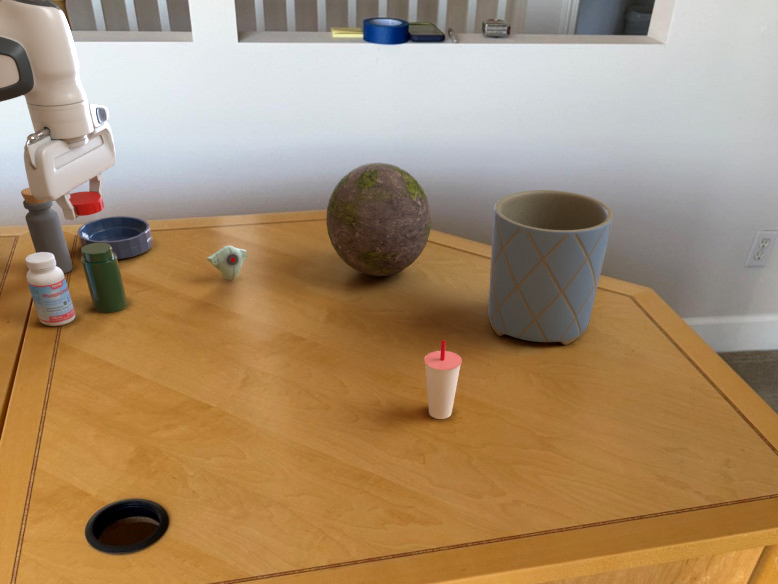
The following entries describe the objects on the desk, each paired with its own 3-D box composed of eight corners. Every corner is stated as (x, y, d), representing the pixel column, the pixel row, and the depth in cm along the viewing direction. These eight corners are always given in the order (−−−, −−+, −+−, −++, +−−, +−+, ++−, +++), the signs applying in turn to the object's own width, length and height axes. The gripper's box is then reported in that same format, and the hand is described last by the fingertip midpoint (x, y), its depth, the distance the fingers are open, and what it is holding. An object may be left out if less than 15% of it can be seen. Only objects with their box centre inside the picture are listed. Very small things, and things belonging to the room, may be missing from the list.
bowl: (67, 254, 158) (62, 234, 155) (113, 230, 168) (109, 212, 165) (123, 266, 154) (118, 247, 151) (167, 242, 163) (163, 222, 161)
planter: (474, 341, 133) (484, 223, 119) (494, 294, 146) (505, 184, 133) (586, 357, 129) (609, 237, 116) (595, 308, 143) (617, 196, 129)
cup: (431, 399, 119) (435, 327, 111) (463, 408, 117) (469, 336, 109) (416, 416, 115) (418, 343, 107) (448, 426, 113) (453, 353, 105)
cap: (109, 202, 132) (107, 191, 130) (96, 216, 127) (93, 205, 126) (73, 201, 132) (70, 190, 131) (58, 215, 127) (55, 204, 126)
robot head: (247, 272, 153) (243, 238, 148) (255, 279, 150) (251, 245, 146) (208, 280, 150) (203, 246, 145) (216, 288, 147) (211, 253, 142)
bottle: (79, 267, 153) (57, 189, 143) (55, 278, 150) (31, 198, 139) (59, 260, 156) (36, 183, 145) (35, 271, 152) (10, 191, 142)
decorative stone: (395, 244, 164) (396, 142, 150) (449, 279, 151) (455, 171, 138) (311, 264, 156) (304, 158, 142) (360, 302, 143) (357, 190, 130)
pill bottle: (56, 330, 134) (36, 267, 126) (32, 321, 136) (12, 259, 129) (83, 317, 138) (66, 255, 130) (60, 308, 140) (42, 247, 132)
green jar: (86, 309, 140) (70, 251, 133) (107, 295, 144) (93, 239, 137) (114, 315, 138) (99, 257, 131) (134, 301, 142) (121, 244, 135)
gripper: (41, 140, 112) (67, 235, 122) (113, 105, 127) (131, 192, 136) (3, 136, 113) (31, 230, 123) (78, 102, 128) (99, 189, 137)
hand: (84, 210), depth 130 cm, fingers closed on cap, 6 cm apart
